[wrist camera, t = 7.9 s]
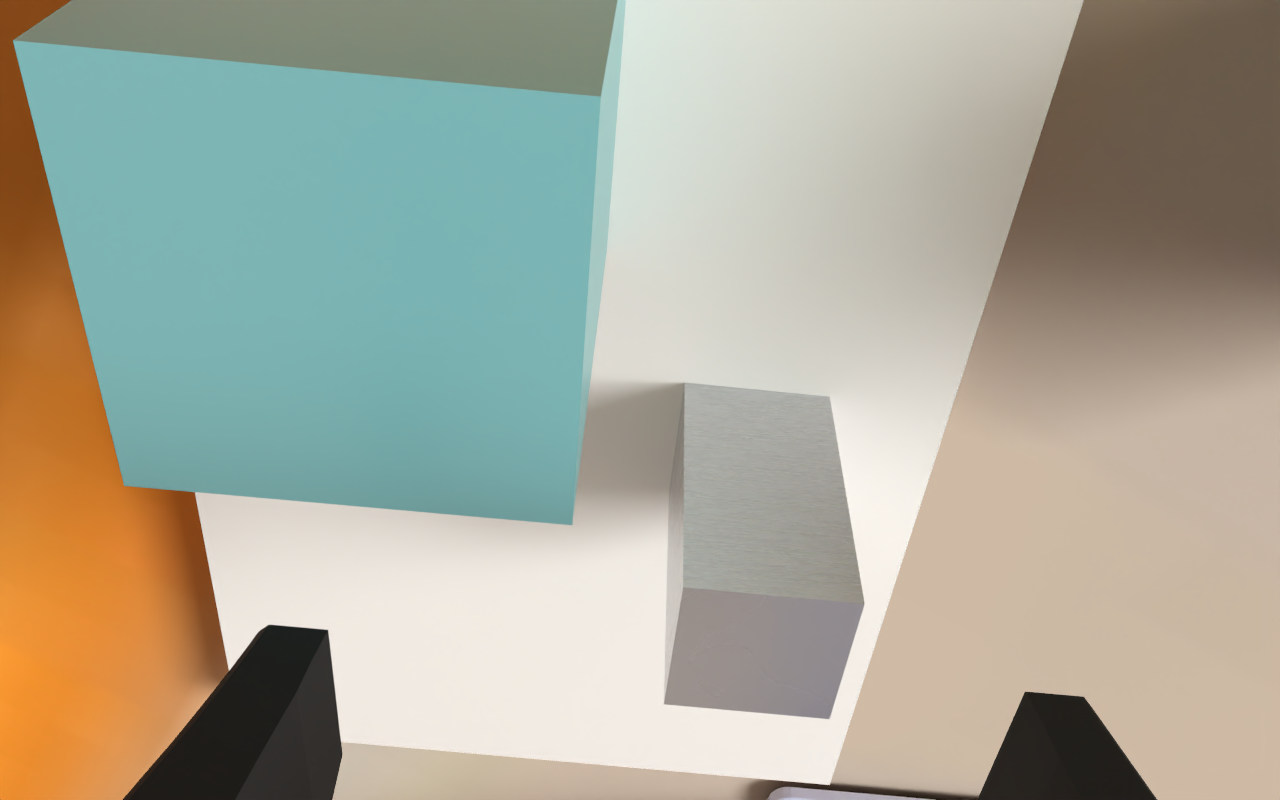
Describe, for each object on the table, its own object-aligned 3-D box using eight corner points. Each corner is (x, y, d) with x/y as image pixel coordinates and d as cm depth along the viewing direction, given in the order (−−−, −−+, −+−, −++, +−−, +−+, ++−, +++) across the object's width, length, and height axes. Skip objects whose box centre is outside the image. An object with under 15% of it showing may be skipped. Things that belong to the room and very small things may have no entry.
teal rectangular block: (607, 250, 18) (572, 525, 13) (289, 221, 18) (124, 486, 13) (631, -85, 15) (600, 96, 10) (250, -123, 15) (12, 40, 10)
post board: (823, 732, 28) (829, 784, 27) (260, 682, 28) (241, 733, 26) (1088, -137, 16) (1120, -113, 15) (105, -244, 16) (56, -230, 14)
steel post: (803, 505, 21) (829, 718, 17) (669, 492, 21) (663, 704, 17) (829, 396, 20) (864, 604, 16) (684, 383, 20) (683, 586, 16)
